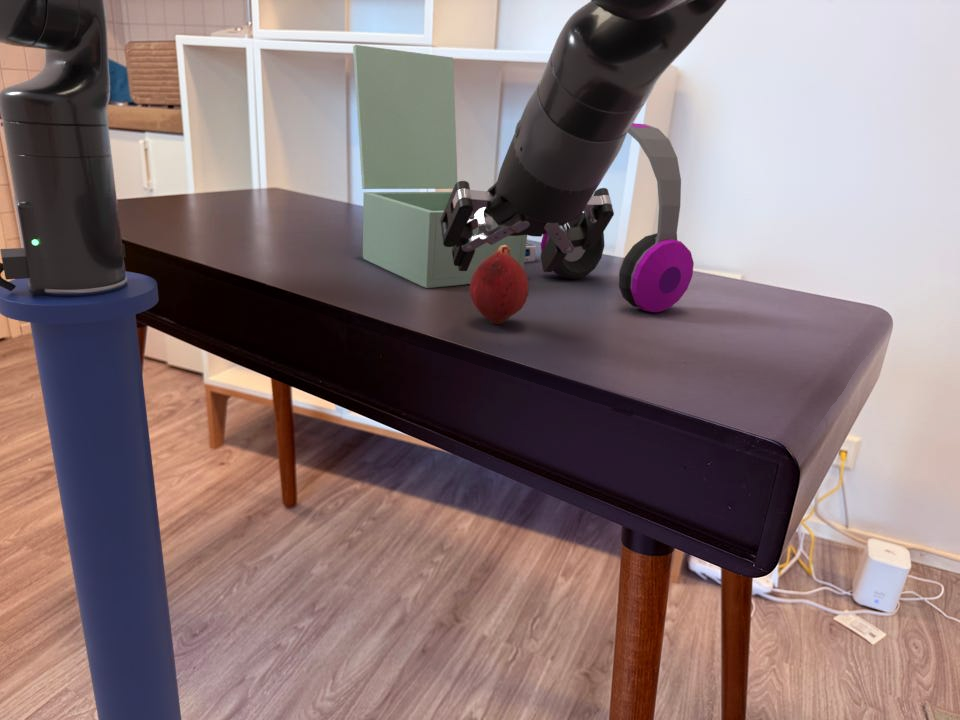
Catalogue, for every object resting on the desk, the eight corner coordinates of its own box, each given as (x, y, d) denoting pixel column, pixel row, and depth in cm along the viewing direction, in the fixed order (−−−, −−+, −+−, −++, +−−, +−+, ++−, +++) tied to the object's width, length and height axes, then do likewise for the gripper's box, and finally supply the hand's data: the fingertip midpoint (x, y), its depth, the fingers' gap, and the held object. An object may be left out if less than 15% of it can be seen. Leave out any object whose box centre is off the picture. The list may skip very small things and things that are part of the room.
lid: (453, 57, 92) (436, 63, 95) (355, 44, 84) (340, 51, 87) (457, 188, 96) (441, 189, 99) (364, 188, 87) (350, 190, 91)
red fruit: (508, 337, 63) (516, 254, 61) (457, 324, 66) (462, 244, 63) (533, 323, 68) (542, 246, 65) (485, 312, 71) (490, 237, 68)
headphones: (532, 274, 89) (548, 116, 82) (584, 271, 93) (604, 121, 86) (634, 319, 72) (665, 125, 65) (693, 313, 76) (728, 130, 69)
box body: (523, 278, 87) (529, 209, 84) (426, 288, 78) (429, 212, 75) (452, 252, 99) (456, 191, 96) (362, 258, 91) (363, 192, 88)
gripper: (478, 183, 46) (435, 298, 60) (659, 192, 50) (579, 297, 64) (464, 101, 49) (427, 229, 63) (636, 116, 53) (565, 233, 67)
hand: (504, 263), depth 64 cm, fingers open, 8 cm apart
